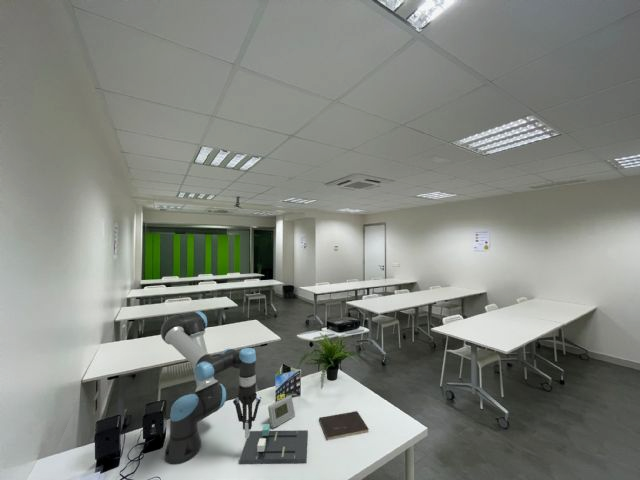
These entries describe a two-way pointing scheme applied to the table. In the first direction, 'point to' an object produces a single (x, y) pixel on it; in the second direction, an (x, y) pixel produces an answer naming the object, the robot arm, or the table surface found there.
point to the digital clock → (281, 411)
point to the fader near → (261, 445)
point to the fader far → (265, 429)
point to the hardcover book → (343, 425)
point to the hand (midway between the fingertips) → (247, 436)
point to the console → (276, 448)
